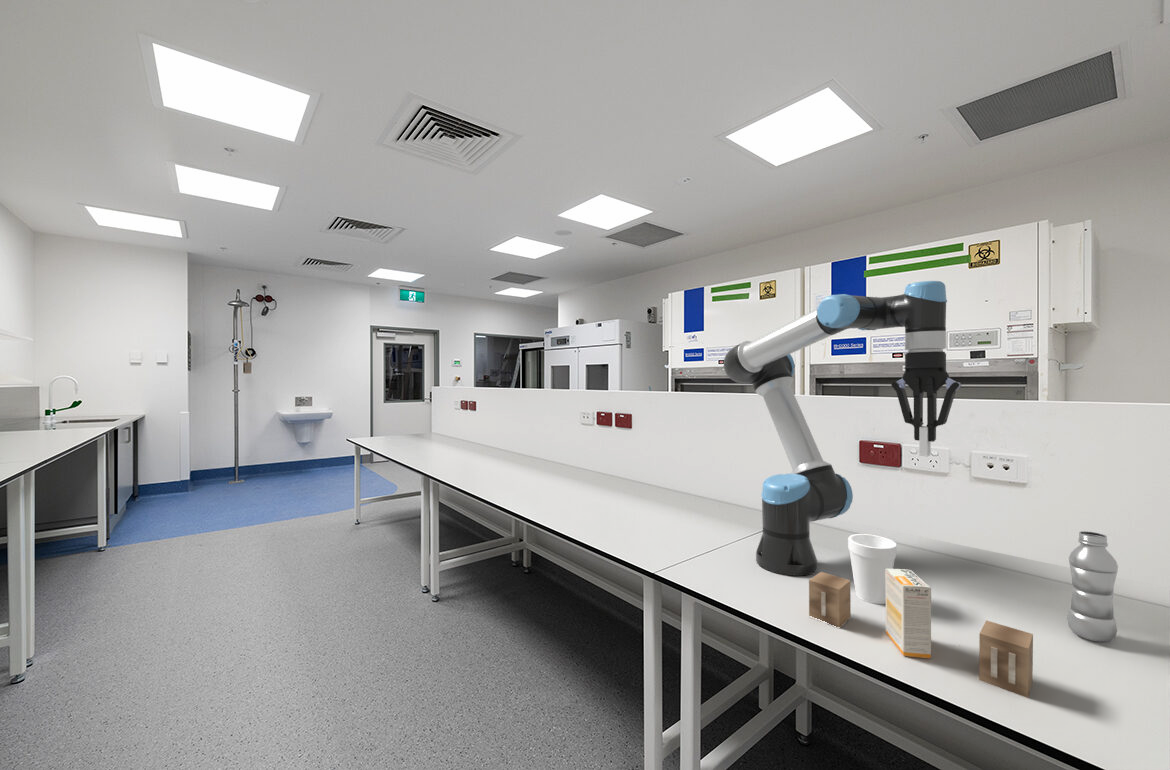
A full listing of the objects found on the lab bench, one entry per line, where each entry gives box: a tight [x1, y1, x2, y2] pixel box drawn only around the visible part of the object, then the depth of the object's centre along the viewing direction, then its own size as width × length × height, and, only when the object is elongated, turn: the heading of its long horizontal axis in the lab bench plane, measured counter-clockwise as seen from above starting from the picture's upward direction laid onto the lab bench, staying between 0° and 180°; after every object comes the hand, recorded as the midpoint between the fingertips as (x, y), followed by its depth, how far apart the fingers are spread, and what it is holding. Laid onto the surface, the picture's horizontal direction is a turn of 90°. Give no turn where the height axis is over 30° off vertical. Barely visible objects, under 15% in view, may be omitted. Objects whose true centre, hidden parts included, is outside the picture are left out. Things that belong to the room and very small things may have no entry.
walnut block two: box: [978, 620, 1034, 699], centre depth 79 cm, size 6×6×8 cm
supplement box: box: [885, 568, 932, 659], centre depth 89 cm, size 8×5×13 cm, turn 168°
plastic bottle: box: [1066, 530, 1119, 643], centre depth 91 cm, size 6×7×20 cm
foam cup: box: [847, 533, 897, 605], centre depth 108 cm, size 10×9×13 cm
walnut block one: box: [808, 571, 852, 628], centre depth 100 cm, size 6×6×8 cm
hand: (924, 455), depth 107 cm, fingers closed
